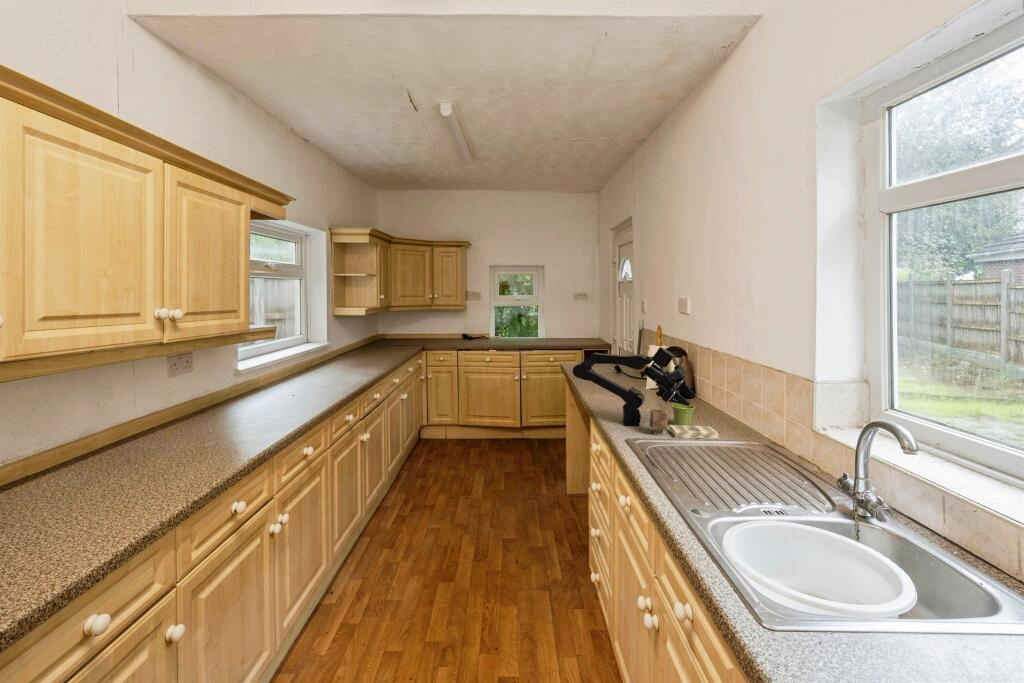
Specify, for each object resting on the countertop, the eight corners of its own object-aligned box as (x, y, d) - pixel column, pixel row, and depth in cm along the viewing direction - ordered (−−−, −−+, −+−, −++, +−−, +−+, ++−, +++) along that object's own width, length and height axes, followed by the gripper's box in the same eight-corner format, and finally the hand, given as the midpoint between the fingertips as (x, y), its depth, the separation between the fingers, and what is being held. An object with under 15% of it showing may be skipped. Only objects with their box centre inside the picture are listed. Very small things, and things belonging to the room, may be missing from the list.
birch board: (675, 438, 192) (675, 431, 192) (669, 430, 202) (669, 424, 201) (717, 439, 191) (718, 433, 191) (709, 432, 201) (710, 426, 201)
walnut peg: (652, 435, 195) (653, 413, 194) (649, 431, 200) (650, 409, 199) (666, 436, 194) (668, 413, 193) (663, 432, 200) (664, 410, 199)
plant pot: (665, 423, 212) (666, 403, 211) (684, 422, 215) (685, 402, 214) (679, 430, 203) (680, 409, 202) (698, 428, 206) (700, 408, 205)
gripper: (664, 369, 192) (699, 395, 188) (676, 354, 207) (708, 378, 203) (648, 389, 198) (681, 415, 193) (661, 374, 213) (692, 397, 208)
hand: (691, 400), depth 199 cm, fingers open, 9 cm apart
